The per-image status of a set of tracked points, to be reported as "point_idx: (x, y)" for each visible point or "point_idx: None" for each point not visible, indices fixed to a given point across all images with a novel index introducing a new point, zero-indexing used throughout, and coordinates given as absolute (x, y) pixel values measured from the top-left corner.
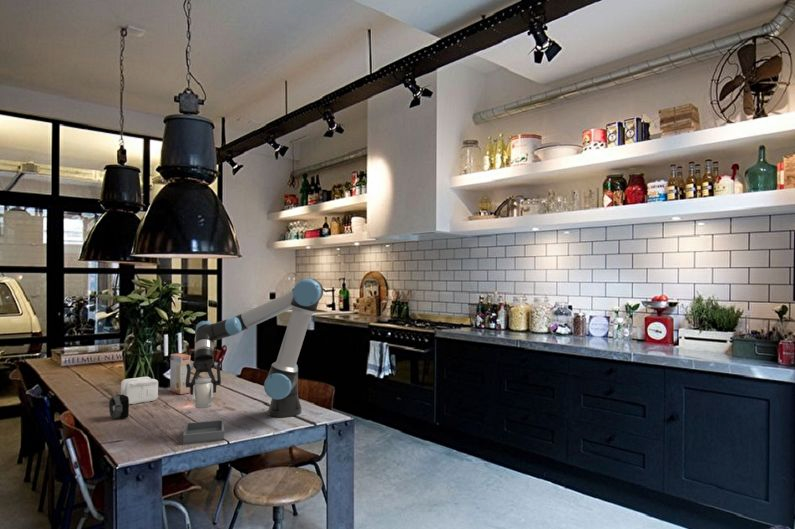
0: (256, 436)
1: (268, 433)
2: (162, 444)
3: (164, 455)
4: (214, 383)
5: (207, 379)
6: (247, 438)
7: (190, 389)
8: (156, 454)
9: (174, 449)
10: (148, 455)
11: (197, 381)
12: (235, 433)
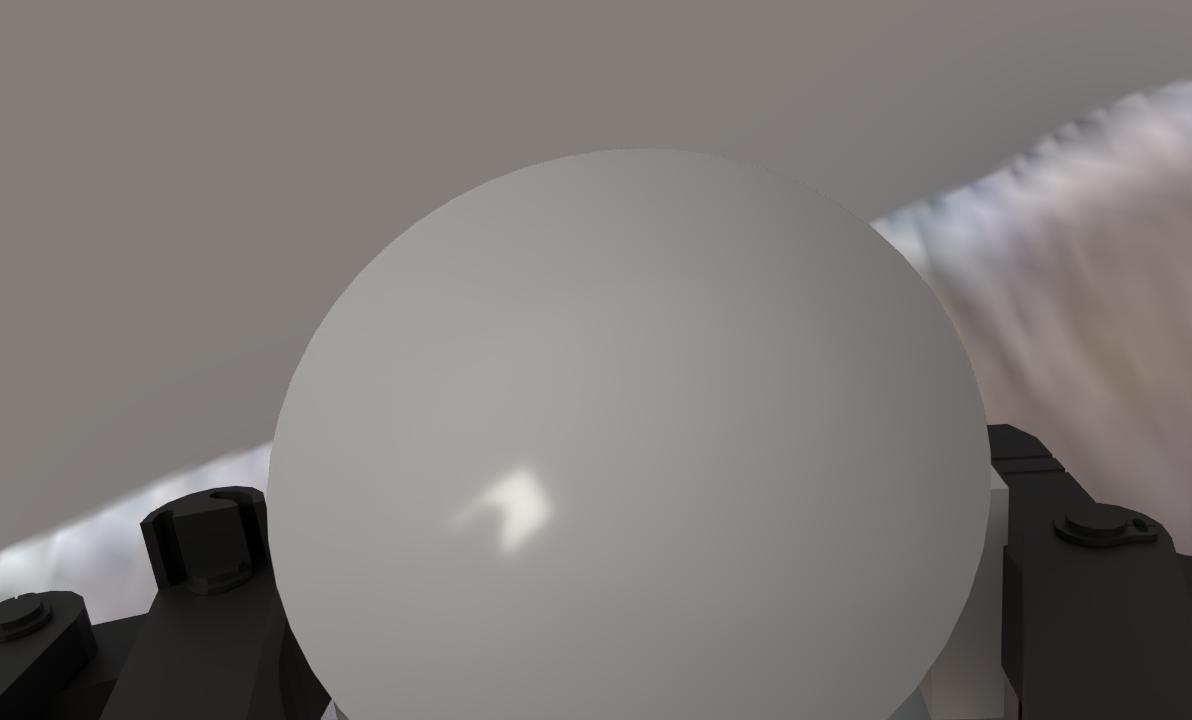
0: (144, 515)
1: (5, 583)
2: (1178, 528)
3: (1014, 186)
4: (253, 562)
5: (435, 245)
6: (240, 474)
7: (1057, 469)
8: (1110, 225)
9: (963, 323)
10: (1186, 215)
11: (825, 223)
12: (325, 710)
